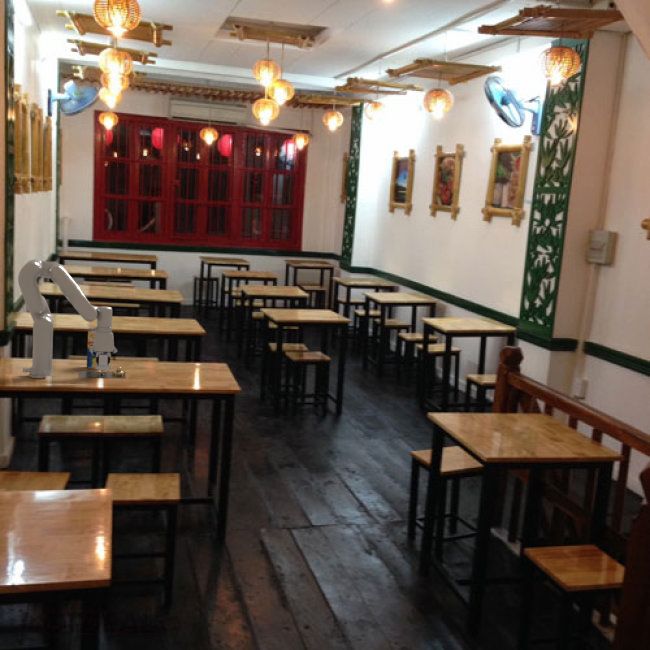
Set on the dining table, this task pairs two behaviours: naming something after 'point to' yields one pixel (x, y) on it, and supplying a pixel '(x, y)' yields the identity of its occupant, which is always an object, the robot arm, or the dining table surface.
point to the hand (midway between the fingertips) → (102, 363)
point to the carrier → (103, 374)
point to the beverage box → (90, 356)
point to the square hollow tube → (103, 362)
